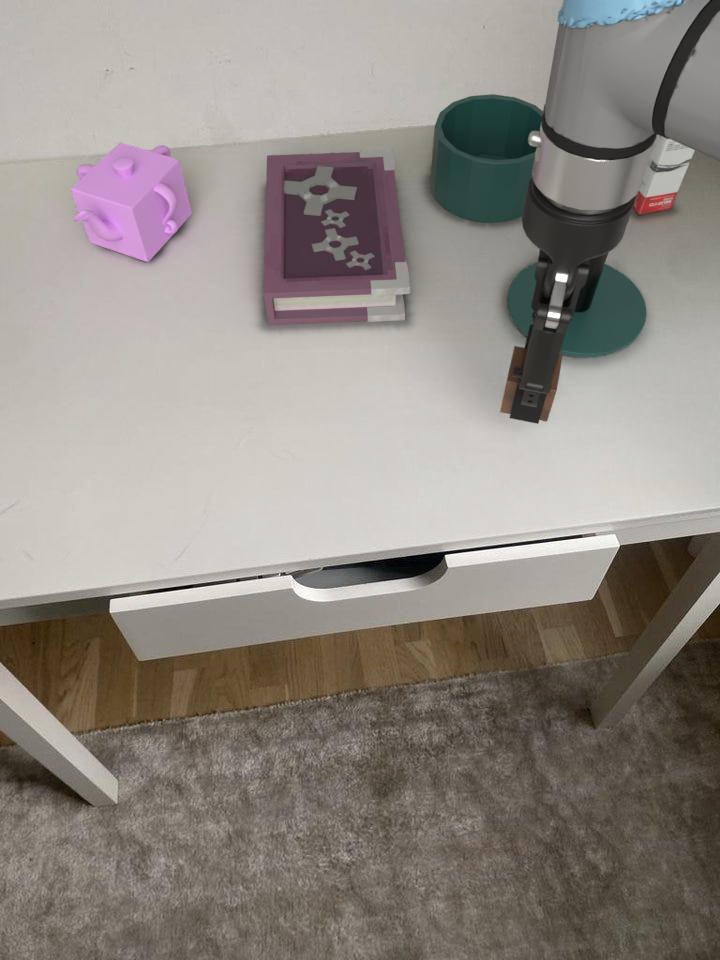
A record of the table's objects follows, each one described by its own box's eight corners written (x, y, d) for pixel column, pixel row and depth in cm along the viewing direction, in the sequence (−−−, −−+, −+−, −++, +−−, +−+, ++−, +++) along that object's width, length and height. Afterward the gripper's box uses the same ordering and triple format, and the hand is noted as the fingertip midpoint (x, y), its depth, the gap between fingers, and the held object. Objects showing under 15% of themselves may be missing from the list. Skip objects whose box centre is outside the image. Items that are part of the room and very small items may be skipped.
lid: (647, 277, 92) (676, 205, 83) (638, 373, 84) (669, 304, 75) (517, 254, 94) (532, 182, 86) (495, 345, 86) (510, 276, 77)
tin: (547, 163, 104) (561, 103, 97) (532, 231, 97) (545, 171, 89) (443, 147, 106) (448, 87, 99) (420, 212, 99) (424, 152, 92)
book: (408, 320, 88) (410, 287, 84) (268, 326, 88) (263, 293, 84) (391, 183, 102) (392, 149, 98) (271, 187, 102) (266, 154, 97)
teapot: (142, 297, 90) (119, 227, 82) (47, 264, 94) (16, 193, 85) (220, 209, 99) (206, 137, 91) (131, 181, 102) (110, 109, 94)
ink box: (672, 209, 99) (707, 124, 89) (637, 216, 98) (668, 130, 88) (643, 170, 103) (673, 85, 93) (609, 176, 103) (635, 90, 93)
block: (553, 386, 74) (562, 354, 71) (547, 421, 72) (556, 390, 68) (507, 377, 75) (514, 345, 71) (499, 412, 73) (506, 381, 69)
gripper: (546, 109, 59) (504, 326, 78) (510, 256, 50) (473, 461, 69) (645, 122, 58) (577, 339, 77) (628, 274, 48) (556, 478, 68)
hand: (528, 396), depth 73 cm, fingers closed on block, 4 cm apart
